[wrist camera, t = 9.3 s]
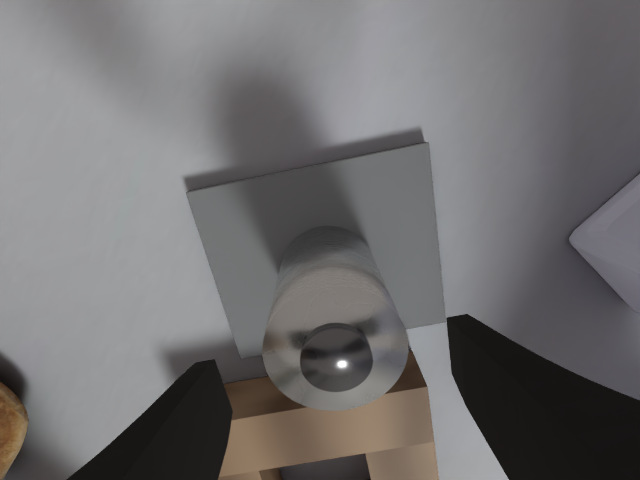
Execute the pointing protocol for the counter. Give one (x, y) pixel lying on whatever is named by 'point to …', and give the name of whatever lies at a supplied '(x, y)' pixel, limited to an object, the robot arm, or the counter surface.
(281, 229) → the rubber mat
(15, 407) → the tan boot
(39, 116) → the counter surface
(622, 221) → the soap bottle
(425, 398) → the bore block
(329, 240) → the grey round-capped cylinder
